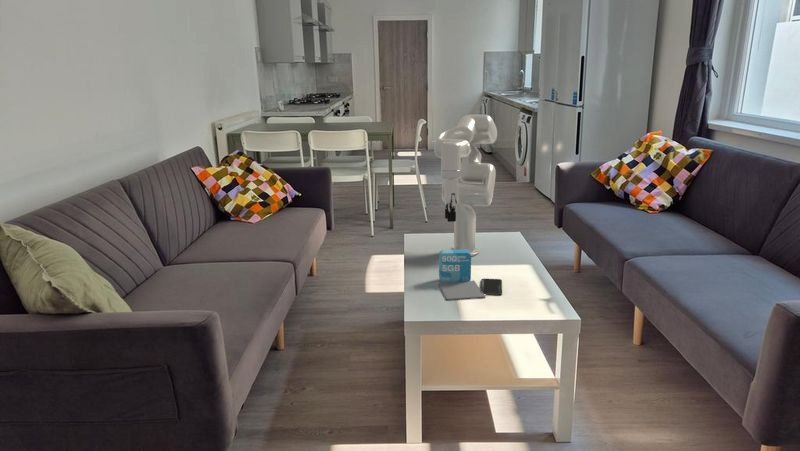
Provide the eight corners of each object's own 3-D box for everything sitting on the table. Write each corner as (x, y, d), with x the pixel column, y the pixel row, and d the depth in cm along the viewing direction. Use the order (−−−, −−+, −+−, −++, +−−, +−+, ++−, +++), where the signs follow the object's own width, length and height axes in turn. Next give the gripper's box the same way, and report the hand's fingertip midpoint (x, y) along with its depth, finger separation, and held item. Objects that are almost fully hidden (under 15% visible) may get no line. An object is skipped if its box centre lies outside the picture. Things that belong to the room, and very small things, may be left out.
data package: (439, 283, 210) (439, 253, 207) (438, 278, 214) (438, 249, 211) (470, 282, 210) (471, 252, 207) (469, 278, 214) (469, 249, 211)
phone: (480, 292, 198) (481, 278, 212) (480, 295, 198) (481, 281, 212) (502, 293, 196) (502, 279, 211) (502, 296, 197) (502, 281, 211)
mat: (438, 284, 208) (438, 282, 208) (474, 282, 210) (474, 280, 210) (446, 300, 193) (446, 298, 193) (485, 298, 195) (485, 296, 195)
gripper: (437, 170, 218) (437, 215, 223) (445, 178, 202) (445, 225, 207) (455, 170, 219) (455, 214, 224) (465, 177, 203) (464, 224, 207)
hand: (450, 219), depth 215 cm, fingers open, 4 cm apart
